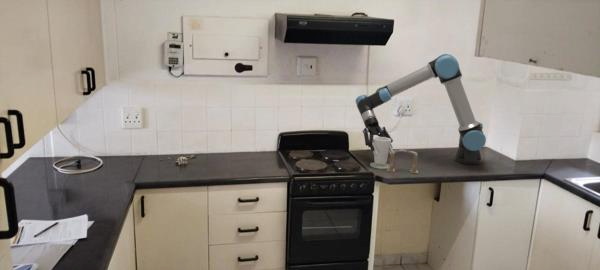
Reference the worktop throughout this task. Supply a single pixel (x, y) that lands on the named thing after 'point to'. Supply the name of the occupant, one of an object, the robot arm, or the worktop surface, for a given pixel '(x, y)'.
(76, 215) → the worktop surface
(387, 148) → the foam cup
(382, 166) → the coaster
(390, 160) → the pull handle
